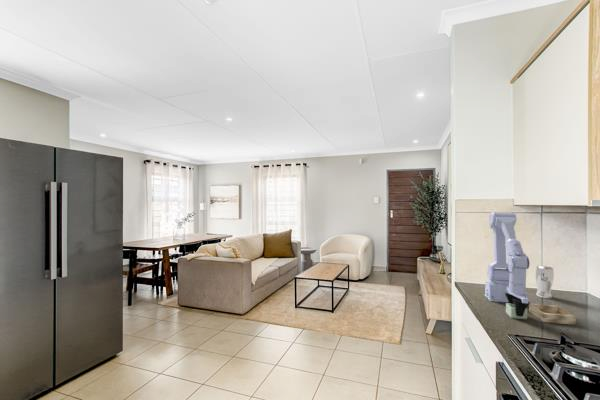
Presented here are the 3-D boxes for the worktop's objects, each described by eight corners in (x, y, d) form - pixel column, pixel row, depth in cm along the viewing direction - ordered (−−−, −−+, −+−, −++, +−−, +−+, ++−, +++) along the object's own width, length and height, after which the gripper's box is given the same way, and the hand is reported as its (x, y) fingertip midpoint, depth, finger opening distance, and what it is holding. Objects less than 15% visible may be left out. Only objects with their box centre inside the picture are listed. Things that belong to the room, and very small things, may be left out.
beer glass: (548, 294, 149) (549, 266, 148) (555, 299, 142) (556, 270, 142) (532, 292, 151) (533, 265, 150) (538, 297, 145) (539, 268, 144)
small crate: (511, 318, 123) (511, 307, 123) (505, 312, 128) (506, 303, 127) (527, 319, 121) (527, 309, 121) (521, 314, 126) (521, 304, 126)
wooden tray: (542, 321, 119) (542, 313, 119) (528, 310, 130) (529, 303, 129) (575, 324, 117) (576, 316, 116) (558, 313, 127) (559, 305, 127)
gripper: (537, 289, 116) (536, 321, 116) (519, 277, 130) (518, 306, 131) (517, 287, 117) (516, 319, 118) (501, 276, 132) (500, 305, 132)
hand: (516, 313), depth 124 cm, fingers closed on small crate, 5 cm apart
